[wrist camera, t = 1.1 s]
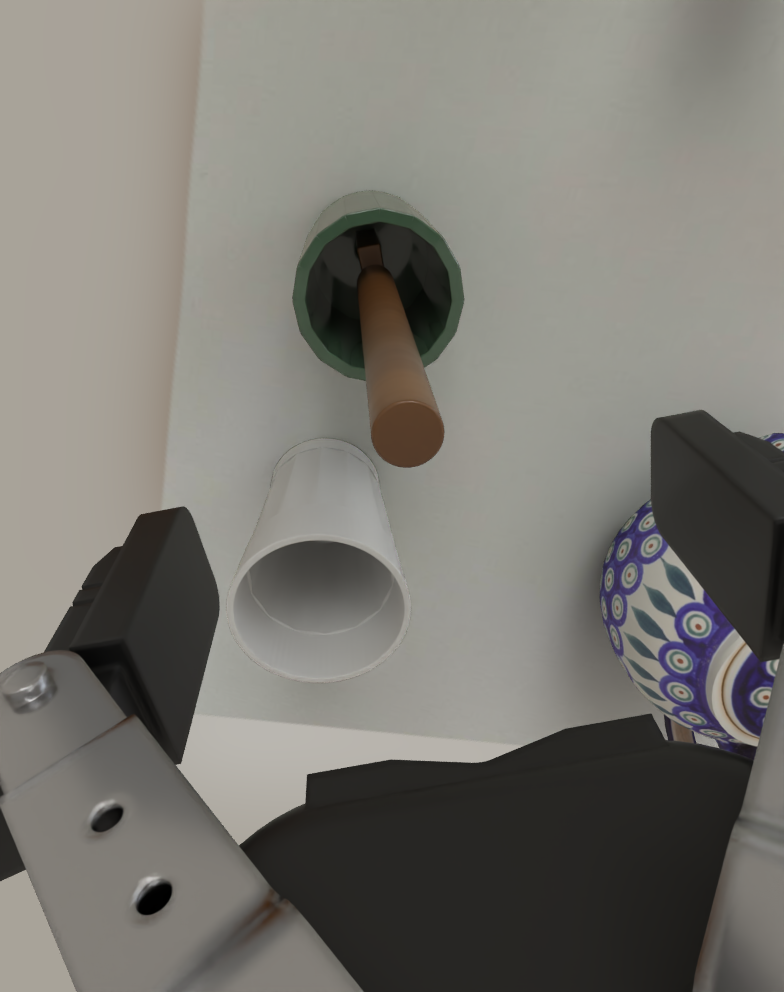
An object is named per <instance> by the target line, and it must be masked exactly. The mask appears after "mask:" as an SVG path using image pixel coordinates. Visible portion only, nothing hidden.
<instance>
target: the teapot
mask: <svg viewBox="0 0 784 992" xmlns="http://www.w3.org/2000/svg"><path fill="white" fill-rule="evenodd" d="M760 439H763V440H766V441H769V442H770V443H772V444H773V445H774V446H776V447H777V448H779V449H780V450H781V451H783V452H784V434H783V433H774V434H770V435H767V436H763V437H760ZM600 605H601V611H602V617H603V623H604V626H605V629H606V632H607V635H608V637H609V640H610V642H611V645H612V647H613V649H614V652H615V654H616V656H617V658H618V660H619V661H620V663H621V665H622V667H623V668H624V670H625V671H626V673H627V674H628V676H629V677H630V679H631V680H632V682H633V683H634V684H635V686H636V687H637V689H638V690H639V691H640V692H641V693H642V694H643V695H644V696H645V697H646V698H647V699H648V700H649V701H650V702H651V703H652V704H653V705H654V706H655V707H656V708H657V709H658V710H660V711H661V712H662V713H663V714H664V719H665V727H666V732H667V737H668V741H682V742H689V743H696V740H695V736H694V732H696V733H698V734H701V735H703V736H706V737H710V738H713V739H715V740H716V742H717V743H718V746H719V748H720V749H723V750H726V751H730V752H733V753H736V754H739V755H742V756H745V757H747V758H750V759H752V760H754V758H755V754H756V750H757V746H758V742H759V738H760V734H761V730H762V726H763V722H764V719H765V715H766V711H767V707H768V703H769V699H770V695H771V691H772V687H773V683H774V679H775V675H776V671H777V667H778V663H779V659H777V660H772V661H766V662H760V660H759V659H758V658H757V657H756V655H755V654H754V653H753V652H752V650H751V649H750V648H749V646H748V645H747V644H746V643H745V641H744V640H743V639H742V638H741V636H740V635H739V634H738V633H737V631H736V630H735V629H734V627H733V626H732V625H731V624H730V622H729V621H728V620H727V619H726V617H725V616H724V615H723V613H722V612H721V611H720V610H719V608H718V607H717V606H716V605H715V603H714V602H713V601H712V600H711V598H710V597H709V596H708V594H707V593H706V592H705V591H704V589H703V588H702V587H701V586H700V584H699V583H698V582H697V580H696V579H695V578H694V577H693V575H692V574H691V573H690V572H689V570H688V569H687V568H686V567H685V565H684V564H683V563H682V561H681V560H680V559H679V558H678V556H677V555H676V554H675V553H674V551H673V550H672V549H671V547H670V546H669V545H668V544H667V542H666V541H665V540H664V539H663V537H662V536H661V534H660V533H659V531H658V529H657V526H656V524H655V520H654V517H653V513H652V506H651V500H649V501H648V502H647V503H645V504H644V505H643V506H642V507H641V508H640V509H639V510H638V511H637V512H636V513H635V514H634V515H632V516H631V517H630V519H629V520H628V521H627V522H626V524H625V525H624V526H623V527H622V528H621V530H620V531H619V532H618V534H617V536H616V537H615V539H614V541H613V543H612V544H611V546H610V548H609V551H608V553H607V556H606V558H605V561H604V564H603V569H602V574H601V581H600ZM693 731H694V732H693Z"/></svg>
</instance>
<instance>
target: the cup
mask: <svg viewBox="0 0 784 992" xmlns="http://www.w3.org/2000/svg"><path fill="white" fill-rule="evenodd" d="M226 613H227V620H228V624H229V628H230V630H231V633H232V635H233V637H234V639H235V641H236V642H237V644H238V645H239V647H240V648H241V649H242V650H243V652H244V653H245V654H246V655H247V656H248V657H249V658H250V659H252V660H253V661H254V662H255V663H257V664H258V665H259V666H261V667H263V668H264V669H266V670H268V671H270V672H272V673H274V674H276V675H279V676H281V677H284V678H287V679H291V680H295V681H301V682H308V683H330V682H337V681H343V680H347V679H350V678H354V677H357V676H359V675H362V674H364V673H366V672H368V671H370V670H372V669H374V668H375V667H377V666H378V665H380V664H381V663H382V662H384V661H385V660H386V659H387V658H388V657H389V656H390V655H391V654H392V653H393V652H394V651H395V650H396V649H397V647H398V646H399V645H400V643H401V642H402V640H403V638H404V636H405V634H406V632H407V629H408V626H409V622H410V617H411V599H410V594H409V590H408V587H407V584H406V580H405V577H404V574H403V570H402V567H401V564H400V560H399V557H398V553H397V550H396V546H395V542H394V539H393V535H392V531H391V528H390V524H389V520H388V517H387V513H386V509H385V505H384V502H383V498H382V494H381V491H380V484H379V477H378V474H377V471H376V469H375V467H374V465H373V463H372V462H371V460H370V459H369V458H368V457H367V456H366V455H365V454H364V453H363V452H362V451H361V450H360V449H358V448H357V447H355V446H353V445H351V444H349V443H347V442H344V441H341V440H337V439H329V438H320V439H313V440H309V441H305V442H303V443H300V444H298V445H296V446H295V447H293V448H292V449H290V450H289V451H288V452H287V453H286V454H285V455H284V456H283V457H282V458H281V459H280V460H279V462H278V464H277V465H276V467H275V470H274V472H273V476H272V480H271V485H270V490H269V493H268V495H267V498H266V501H265V503H264V506H263V509H262V511H261V514H260V517H259V519H258V522H257V525H256V527H255V530H254V533H253V535H252V538H251V539H250V541H249V543H248V545H247V547H246V549H245V552H244V554H243V557H242V559H241V562H240V564H239V566H238V569H237V571H236V574H235V576H234V578H233V581H232V583H231V586H230V589H229V592H228V596H227V603H226Z"/></svg>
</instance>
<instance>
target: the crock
mask: <svg viewBox="0 0 784 992" xmlns="http://www.w3.org/2000/svg"><path fill="white" fill-rule="evenodd" d="M370 229H375V231H376V234H377V237H378V240H379V243H380V246H381V252H382V258H383V263H384V267H385V268H387V269H388V270H389V271H390V273H391V274H392V276H393V279H394V282H395V285H396V288H397V291H398V294H399V297H400V299H401V302H402V305H403V308H404V311H405V314H406V317H407V320H408V323H409V326H410V328H411V331H412V334H413V337H414V340H415V343H416V346H417V349H418V352H419V355H420V357H421V360H422V363H423V366H424V367H426V366H427V365H429V364H431V363H432V362H434V361H435V360H436V359H437V358H438V357H439V356H440V354H441V353H442V352H443V350H444V349H445V347H446V346H447V345H448V343H449V342H450V341H451V339H452V338H453V337H454V335H455V333H456V331H457V327H458V323H459V319H460V316H461V312H462V308H463V304H464V293H463V285H462V278H461V270H460V267H459V264H458V262H457V260H456V259H455V257H454V255H453V253H452V252H451V250H450V248H449V246H448V245H447V243H446V241H445V239H444V238H443V237H442V235H441V234H440V233H439V232H438V231H437V230H436V229H435V228H434V227H433V226H432V225H431V224H430V223H429V222H428V221H427V220H426V219H425V217H424V216H423V215H422V214H421V213H420V212H418V211H417V210H416V209H415V208H413V207H412V206H411V205H410V204H408V203H407V202H405V201H404V200H403V199H401V198H400V197H398V196H394V195H391V194H388V193H385V192H379V191H361V192H356V193H352V194H349V195H346V196H343V197H342V198H340V199H338V200H337V201H335V202H333V203H332V204H331V205H330V206H328V207H327V208H326V209H325V210H324V211H322V213H321V214H320V215H319V217H318V219H317V220H316V222H315V223H314V225H313V227H312V229H311V230H310V232H309V234H308V236H307V238H306V241H305V244H304V247H303V250H302V253H301V256H300V259H299V262H298V265H297V271H296V277H295V284H294V290H293V297H292V299H293V305H294V309H295V314H296V318H297V322H298V326H299V330H300V332H301V335H302V336H303V337H304V339H305V340H306V342H307V343H308V344H309V346H310V347H311V349H312V350H313V351H314V353H315V354H316V356H317V357H318V358H319V359H320V360H321V361H322V362H324V363H325V364H327V365H329V366H330V367H332V368H333V369H335V370H336V371H338V372H340V373H341V374H343V375H344V376H347V377H349V378H354V379H359V380H364V381H366V376H365V365H364V355H363V344H362V333H361V323H360V312H359V302H358V291H357V279H358V276H359V274H360V272H361V267H360V262H359V257H358V252H357V245H356V237H355V233H356V232H360V231H365V230H370Z"/></svg>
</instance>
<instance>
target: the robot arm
mask: <svg viewBox="0 0 784 992" xmlns="http://www.w3.org/2000/svg"><path fill="white" fill-rule="evenodd" d="M651 506H652V513H653V517H654V520H655V524H656V526H657V529H658V531H659V533H660V534H661V536H662V537H663V539H664V540H665V541H666V542H667V544H668V545H669V546H670V547H671V549H672V550H673V551H674V553H675V554H676V555H677V556H678V558H679V559H680V560H681V561H682V563H683V564H684V565H685V567H686V568H687V569H688V570H689V572H690V573H691V574H692V575H693V577H694V578H695V579H696V580H697V582H698V583H699V584H700V586H701V587H702V588H703V589H704V591H705V592H706V593H707V594H708V596H709V597H710V598H711V600H712V601H713V602H714V603H715V605H716V606H717V607H718V608H719V610H720V611H721V612H722V613H723V615H724V616H725V617H726V619H727V620H728V621H729V622H730V624H731V625H732V626H733V627H734V629H735V630H736V631H737V633H738V634H739V635H740V636H741V638H742V639H743V640H744V641H745V643H746V644H747V645H748V646H749V648H750V649H751V650H752V652H753V653H754V654H755V655H756V657H757V658H758V659H759V660H760V662H766V661H772V660H777V659H779V663H778V667H777V671H776V675H775V679H774V683H773V687H772V691H771V695H770V699H769V703H768V707H767V711H766V715H765V719H764V722H763V726H762V730H761V734H760V738H759V742H758V746H757V750H756V754H755V758H754V760H752V759H750V758H747V757H745V756H742V755H739V754H736V753H733V752H730V751H726V750H723V749H720V748H715V747H711V746H706V745H702V744H696V743H689V742H682V741H668V740H665V739H664V737H663V735H662V733H661V731H660V729H659V727H658V725H657V724H656V722H655V720H654V718H653V716H652V714H646V715H641V716H635V717H629V718H624V719H618V720H612V721H607V722H601V723H595V724H590V725H584V726H578V727H573V728H567V729H564V730H562V731H559V732H557V733H554V734H552V735H549V736H547V737H545V738H542V739H540V740H537V741H535V742H533V743H530V744H528V745H525V746H523V747H521V748H518V749H516V750H513V751H511V752H509V753H506V754H504V755H501V756H499V757H496V758H494V759H492V760H489V761H486V762H480V763H461V762H436V761H410V760H386V761H381V762H375V763H369V764H364V765H358V766H352V767H347V768H341V769H335V770H330V771H324V772H318V773H313V774H308V775H307V788H306V803H305V804H303V805H301V806H298V807H296V808H294V809H292V810H290V811H288V812H286V813H285V814H283V815H281V816H279V817H277V818H276V819H274V820H272V821H271V822H269V823H268V824H266V825H265V826H264V827H262V828H261V829H259V830H258V831H256V832H255V833H254V834H253V835H251V836H250V837H249V838H248V839H247V840H245V841H244V842H243V843H242V844H240V845H238V844H237V843H236V842H235V840H234V839H233V838H232V836H231V835H230V834H229V833H228V831H227V830H226V829H225V828H224V826H223V825H222V824H221V822H220V821H219V820H218V819H217V817H216V816H215V815H214V814H213V813H212V811H211V810H210V809H209V807H208V806H207V805H206V803H205V802H204V801H203V800H202V798H201V797H200V796H199V794H198V793H197V792H196V791H195V790H194V788H193V787H192V786H191V784H190V783H189V782H188V780H187V779H186V778H185V777H184V775H183V774H182V773H181V771H180V770H179V769H178V768H177V766H176V764H181V762H182V757H183V754H184V750H185V746H186V742H187V738H188V734H189V730H190V726H191V723H192V718H193V715H194V711H195V707H196V703H197V699H198V695H199V691H200V687H201V684H202V680H203V676H204V672H205V668H206V664H207V660H208V656H209V652H210V648H211V644H212V641H213V637H214V633H215V629H216V625H217V621H218V617H219V594H218V589H217V584H216V581H215V578H214V575H213V572H212V570H211V567H210V564H209V561H208V559H207V556H206V553H205V550H204V548H203V545H202V542H201V539H200V536H199V534H198V531H197V528H196V525H195V523H194V520H193V518H192V515H191V513H190V512H189V510H188V509H187V508H186V507H177V508H172V509H167V510H162V511H156V512H151V513H146V514H141V515H140V516H139V517H138V518H137V520H136V522H135V524H134V526H133V528H132V529H131V531H130V533H129V535H128V537H127V539H126V541H125V543H124V544H123V546H121V547H115V548H113V549H112V550H111V551H110V552H109V553H108V554H107V555H106V556H104V558H102V559H101V560H100V561H99V562H98V563H97V564H95V565H94V566H93V568H92V570H91V571H90V573H89V575H88V576H87V578H86V580H85V581H84V583H83V585H82V590H79V592H78V594H77V595H76V597H75V599H74V601H73V606H71V607H70V608H69V610H68V611H67V613H66V615H65V616H64V618H63V620H62V621H61V623H60V625H59V627H58V629H57V630H56V632H55V634H54V635H53V638H52V639H51V641H50V642H49V644H48V646H47V648H46V650H45V651H44V653H41V654H38V655H34V656H31V657H29V658H27V659H24V660H22V661H20V662H18V663H16V664H14V665H12V666H11V667H9V668H7V669H6V670H4V671H3V672H1V673H0V881H2V880H4V879H6V878H8V877H11V876H13V875H15V874H17V873H19V872H22V871H24V870H27V873H28V875H29V878H30V880H31V882H32V885H33V887H34V890H35V892H36V895H37V897H38V899H39V902H40V904H41V907H42V909H43V912H44V914H45V916H46V919H47V921H48V924H49V926H50V928H51V931H52V933H53V936H54V938H55V941H56V943H57V945H58V948H59V950H60V952H61V955H62V958H63V960H64V962H65V965H66V967H67V970H68V972H69V974H70V977H71V979H72V982H73V984H74V987H75V989H76V991H77V992H784V452H783V451H781V450H780V449H779V448H777V447H776V446H774V445H773V444H772V443H770V442H769V441H766V440H763V439H760V438H757V437H754V436H751V435H748V434H745V433H742V432H735V433H733V432H731V431H730V430H729V429H728V428H726V427H725V426H724V425H722V424H721V423H720V422H718V421H717V420H716V419H715V418H713V417H712V416H711V415H709V414H708V413H707V412H705V411H704V410H698V411H692V412H687V413H682V414H677V415H671V416H666V417H661V418H656V419H655V420H654V422H653V424H652V429H651Z"/></svg>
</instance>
